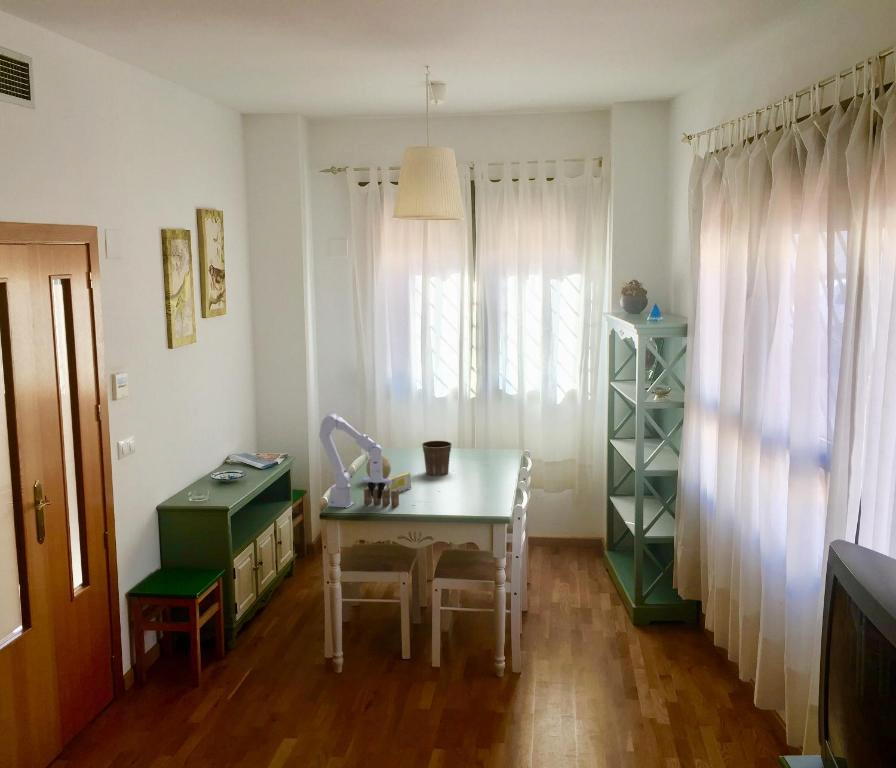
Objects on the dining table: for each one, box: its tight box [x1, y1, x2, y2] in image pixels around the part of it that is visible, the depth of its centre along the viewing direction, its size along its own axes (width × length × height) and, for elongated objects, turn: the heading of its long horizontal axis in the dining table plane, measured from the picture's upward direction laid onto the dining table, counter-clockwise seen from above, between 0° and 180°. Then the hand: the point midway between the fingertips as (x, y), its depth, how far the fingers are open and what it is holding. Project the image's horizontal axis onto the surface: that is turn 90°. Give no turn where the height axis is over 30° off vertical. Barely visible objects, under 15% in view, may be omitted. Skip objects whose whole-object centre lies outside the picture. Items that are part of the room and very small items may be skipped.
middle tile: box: [381, 487, 391, 508], centre depth 406 cm, size 2×5×8 cm, turn 164°
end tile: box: [363, 486, 373, 507], centre depth 408 cm, size 2×5×8 cm, turn 164°
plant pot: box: [421, 440, 453, 477], centre depth 464 cm, size 16×16×16 cm
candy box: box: [385, 472, 412, 496], centre depth 429 cm, size 16×2×8 cm, turn 141°
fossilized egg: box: [365, 453, 392, 479], centre depth 449 cm, size 13×13×15 cm
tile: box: [372, 486, 382, 507], centre depth 407 cm, size 2×5×8 cm, turn 164°
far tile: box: [390, 488, 400, 509], centre depth 404 cm, size 2×5×8 cm, turn 164°
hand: (377, 498), depth 407 cm, fingers open, 2 cm apart
